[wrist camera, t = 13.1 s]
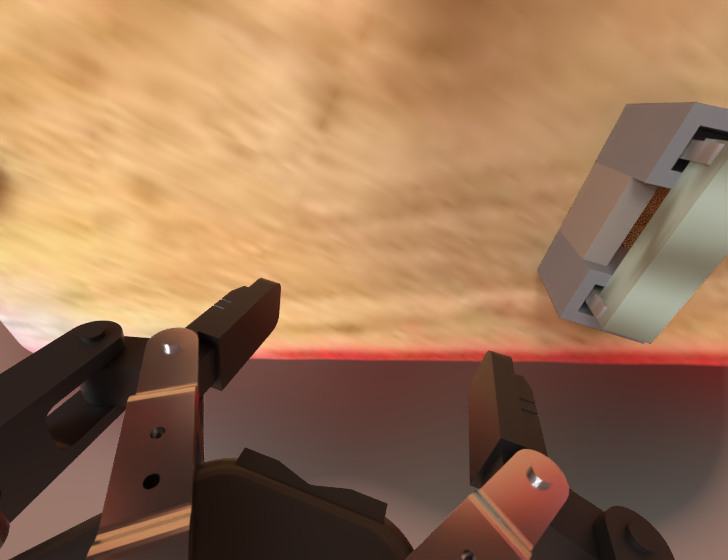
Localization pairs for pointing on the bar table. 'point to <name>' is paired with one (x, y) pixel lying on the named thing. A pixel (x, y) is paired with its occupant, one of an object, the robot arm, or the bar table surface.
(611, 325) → the rail
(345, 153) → the bar table surface
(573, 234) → the grey hollow block
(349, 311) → the bar table surface
